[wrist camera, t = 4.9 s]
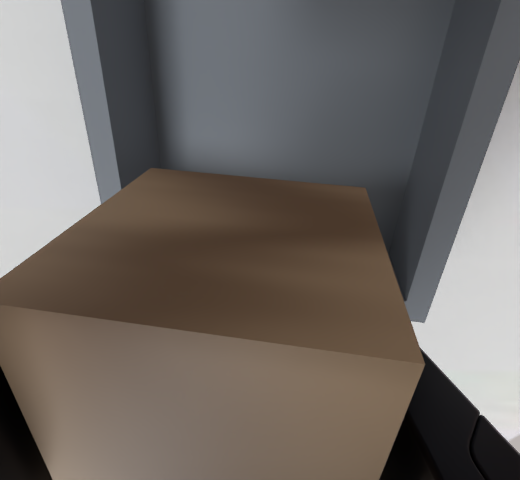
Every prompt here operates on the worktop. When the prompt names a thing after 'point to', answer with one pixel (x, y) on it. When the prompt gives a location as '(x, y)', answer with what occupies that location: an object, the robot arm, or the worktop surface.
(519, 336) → the worktop surface
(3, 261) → the worktop surface
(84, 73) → the tote
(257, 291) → the walnut cube
